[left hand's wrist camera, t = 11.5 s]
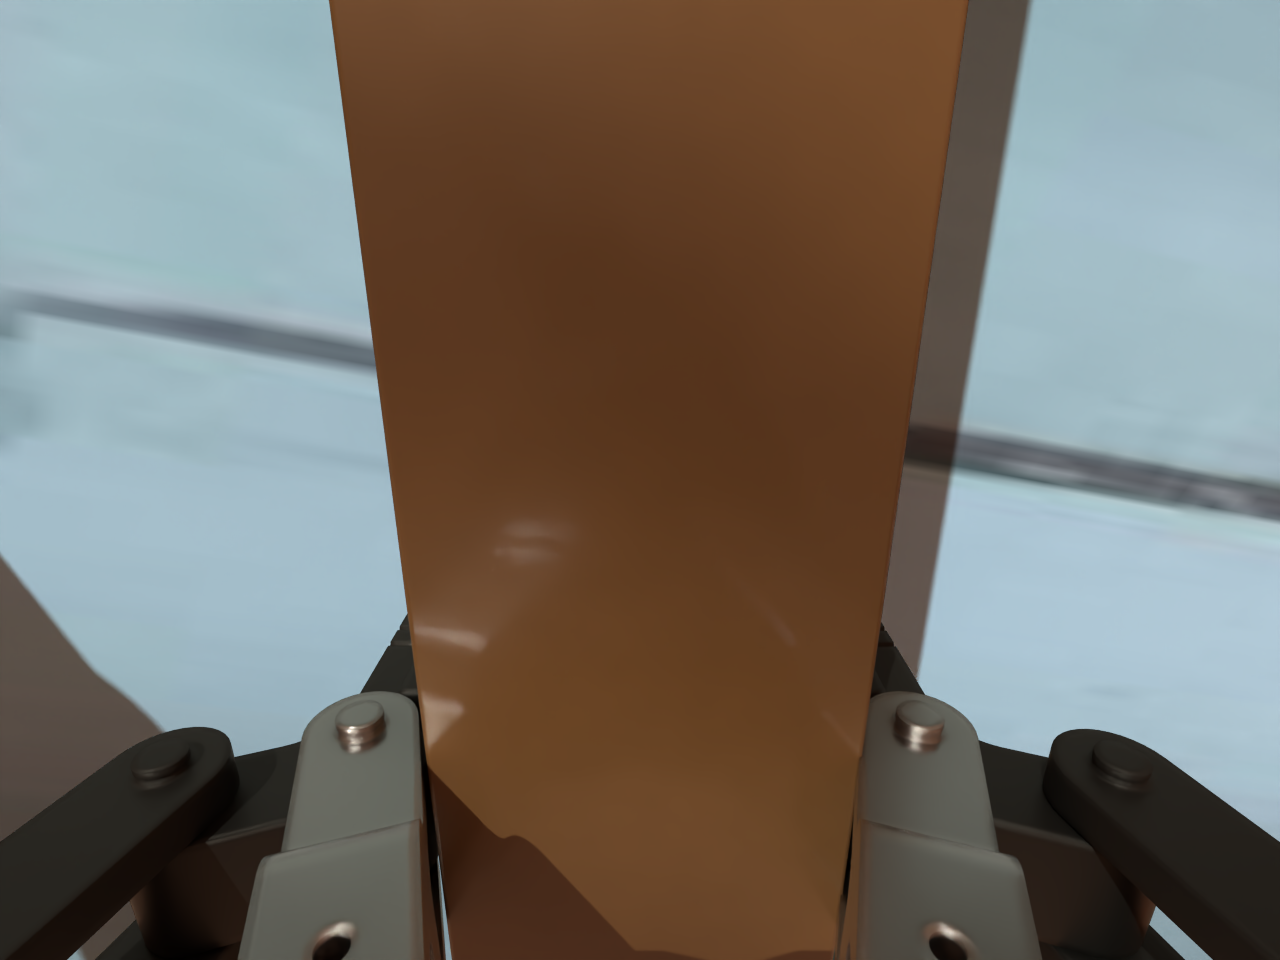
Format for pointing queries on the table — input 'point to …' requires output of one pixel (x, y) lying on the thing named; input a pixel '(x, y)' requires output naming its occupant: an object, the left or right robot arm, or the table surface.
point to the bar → (645, 439)
